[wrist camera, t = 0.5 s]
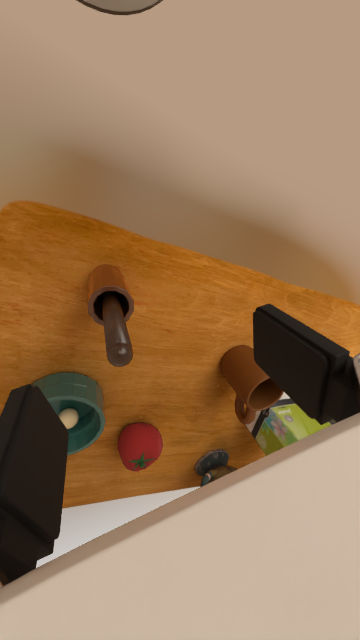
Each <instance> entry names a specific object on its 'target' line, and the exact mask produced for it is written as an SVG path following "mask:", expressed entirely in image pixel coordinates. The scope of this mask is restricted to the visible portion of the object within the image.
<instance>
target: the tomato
mask: <svg viewBox="0 0 360 640" xmlns="http://www.w3.org/2000/svg"><path fill="white" fill-rule="evenodd" d="M162 447H163V442H162V437H161V435H160V433H159V431H158V429H156V428H155V427H154V426H152V425H151V424H146V423H134V424H130V425H128V426H127V427H126V428H124V429H123V431H122V433H121V435H120V436H119V440H118V451H119V454H120V457H121V459H122V462H123V464H124V466H125V467H126V468H127V469H128V470H131V471H137V472H138V471H139V470H142V469H145V468H147V467H148V466H149V465H151V464H152V463H153V462H155V461H156V460H157V459H158V458H159V456H160V454H161V451H162Z"/></svg>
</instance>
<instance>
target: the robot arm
mask: <svg viewBox="0 0 360 640" xmlns="http://www.w3.org/2000/svg"><path fill="white" fill-rule="evenodd" d="M253 345H254V360H255V362H256V364H257V365H258V366H259V367H260V368H261V369H262V370H263V371H264V372H265V373H266V374H267V375H268V376H269V377H270V378H271V379H272V380H273V381H274V382H275V383H276V384H277V385H278V386H279V387H280V388H281V389H282V390H283V391H284V392H285V393H286V394H287V395H288V396H289V397H290V398H291V399H292V400H293V402H294V403H295V404H296V405H297V406H298V407H299V408H300V409H301V410H302V411H303V412H304V413H305V414H306V415H307V416H308V417H310V418H311V419H315V420H316V421H317V422H318V423H319V424H320V425H323V424H325V423H327V422H329V421H331V420H333V419H334V420H335V421H336V422H337V423H335V424H333V425H331V426H329V427H326V428H324V429H322V430H320V431H318V432H316V433H314V434H311V435H309V436H307V437H305V438H303V439H301V440H299V441H297V442H295V443H292V444H290V445H288V446H286V447H284V448H282V449H280V450H278V451H276V452H273V453H271V454H269V455H267V456H265V457H263V458H261V459H259V460H257V461H254V462H252V463H250V464H248V465H246V466H244V467H242V468H240V469H238V470H236V471H234V472H232V473H229V474H227V475H225V476H223V477H221V478H219V479H217V480H215V481H213V482H211V483H209V484H207V485H204V486H202V487H200V488H198V489H196V490H194V491H192V492H190V493H188V494H186V495H184V496H182V497H180V498H177V499H175V500H173V501H171V502H169V503H167V504H165V505H163V506H161V507H159V508H157V509H155V510H153V511H151V512H149V513H147V514H145V515H143V516H141V517H139V518H136V519H135V520H132V521H130V522H128V523H126V524H124V525H122V526H120V527H118V528H116V529H114V530H112V531H110V532H108V533H106V534H103V535H102V536H99V537H97V538H95V539H93V540H91V541H89V542H87V543H85V544H83V545H81V546H79V547H77V548H75V549H73V550H71V551H69V552H67V553H66V554H64V555H62V556H60V557H58V558H56V559H54V560H52V561H50V562H48V563H46V564H44V565H42V566H40V567H38V568H36V563H37V560H39V559H41V558H43V557H45V556H48V555H50V554H52V553H53V547H54V540H55V539H57V538H58V536H59V533H60V525H61V514H62V504H63V493H64V483H65V472H66V462H67V451H68V440H69V434H68V430H67V428H66V427H65V425H64V424H63V422H62V421H61V419H60V418H59V416H58V415H57V413H56V412H55V410H54V409H53V408H52V406H51V405H50V403H49V402H48V400H47V399H46V397H45V396H44V394H43V393H42V391H41V390H40V388H39V387H38V386H34V387H33V386H32V385H31V384H28V385H25V386H22V387H19V388H16V389H13V390H12V391H11V392H10V395H9V397H8V400H7V402H6V404H5V407H4V409H3V412H2V414H1V416H0V640H360V353H359V354H357V355H356V356H355V357H354V358H352V357H350V356H349V353H350V351H348V350H346V349H345V348H343V347H341V346H340V345H338V344H336V343H335V342H333V341H331V340H330V339H328V338H326V337H325V336H323V335H321V334H320V333H318V332H316V331H315V330H313V329H311V328H310V327H308V326H306V325H305V324H303V323H301V322H300V321H298V320H296V319H295V318H293V317H291V316H290V315H288V314H286V313H285V312H283V311H281V310H280V309H278V308H276V307H275V306H273V305H271V304H266V305H263V306H260V307H257V308H256V311H255V312H254V313H253Z"/></svg>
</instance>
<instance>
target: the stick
mask: <svg viewBox="0 0 360 640" xmlns="http://www.w3.org/2000/svg"><path fill="white" fill-rule="evenodd" d="M101 300H102V310H103V321H104V331H105V341H106V352H107V358H108V360H109V362H110V363H111V364H112V365H114V366H117V367H122V366H125V365H127V364H128V363H130V361H131V360H132V358H133V349H132V345H131V342H130V338H129V334H128V331H127V327H126V323H125V319H124V316H123V312H122V308H121V305H120V301H119V297H118V294H117V291H105V292H103V293H102V294H101Z"/></svg>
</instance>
